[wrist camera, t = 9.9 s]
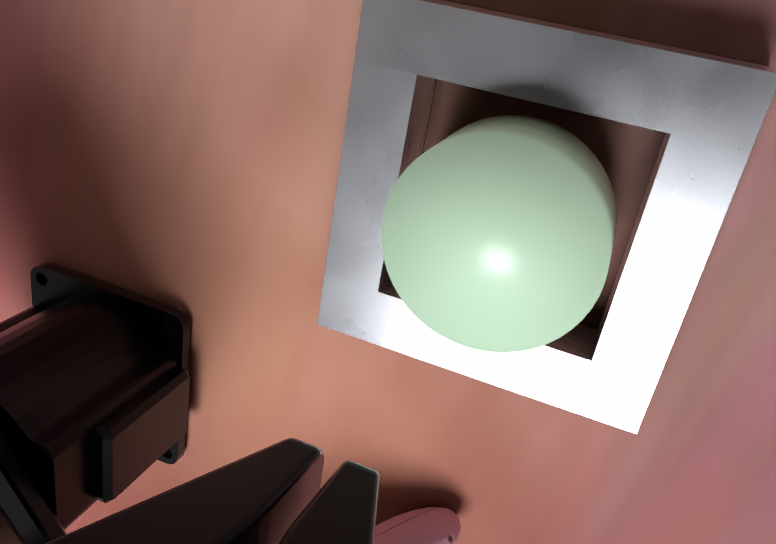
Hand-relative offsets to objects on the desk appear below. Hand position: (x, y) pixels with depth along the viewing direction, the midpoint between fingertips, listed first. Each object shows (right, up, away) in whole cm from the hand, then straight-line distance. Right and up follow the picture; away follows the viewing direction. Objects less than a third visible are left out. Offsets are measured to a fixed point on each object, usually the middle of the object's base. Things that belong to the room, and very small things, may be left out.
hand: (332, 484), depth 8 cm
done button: (+4, +4, +9) cm, 11 cm away
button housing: (+4, +4, +10) cm, 12 cm away
